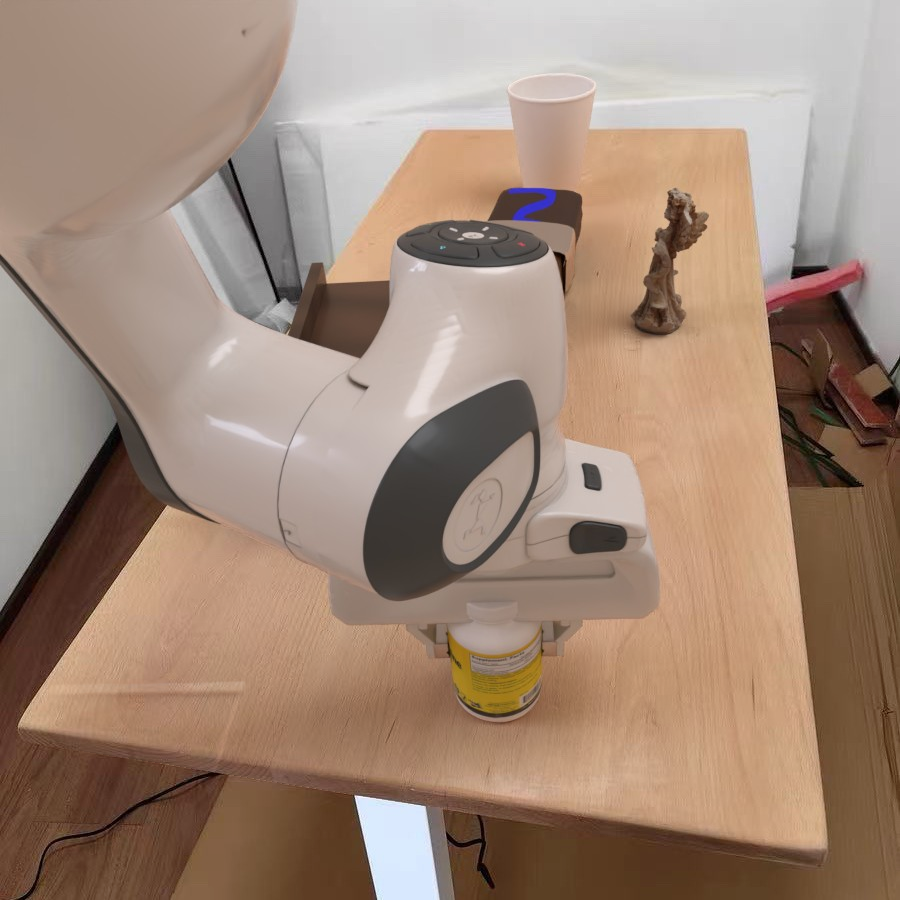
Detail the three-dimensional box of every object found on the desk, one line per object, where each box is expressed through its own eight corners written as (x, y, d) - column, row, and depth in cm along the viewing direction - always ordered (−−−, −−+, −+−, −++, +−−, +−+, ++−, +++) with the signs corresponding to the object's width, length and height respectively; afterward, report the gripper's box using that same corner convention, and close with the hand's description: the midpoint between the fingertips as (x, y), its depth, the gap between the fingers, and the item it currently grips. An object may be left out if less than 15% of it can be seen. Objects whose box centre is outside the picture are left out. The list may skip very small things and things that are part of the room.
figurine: (647, 302, 100) (658, 175, 91) (698, 313, 97) (715, 184, 88) (623, 332, 95) (631, 202, 86) (675, 344, 93) (690, 211, 83)
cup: (605, 210, 120) (610, 91, 111) (523, 224, 119) (521, 105, 109) (576, 180, 130) (578, 68, 120) (500, 192, 128) (496, 80, 118)
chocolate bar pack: (590, 224, 114) (592, 165, 108) (552, 367, 94) (552, 304, 88) (500, 219, 117) (496, 162, 111) (444, 357, 97) (437, 296, 91)
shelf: (423, 529, 73) (410, 422, 66) (284, 534, 74) (256, 428, 67) (436, 351, 95) (428, 256, 88) (328, 356, 96) (311, 262, 89)
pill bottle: (457, 650, 63) (447, 542, 56) (543, 653, 62) (542, 544, 55) (449, 724, 58) (436, 616, 51) (541, 728, 57) (541, 620, 51)
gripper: (297, 540, 47) (336, 692, 56) (677, 528, 46) (656, 686, 54) (315, 466, 52) (347, 616, 61) (658, 453, 51) (641, 609, 59)
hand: (496, 649), depth 58 cm, fingers closed on pill bottle, 6 cm apart
